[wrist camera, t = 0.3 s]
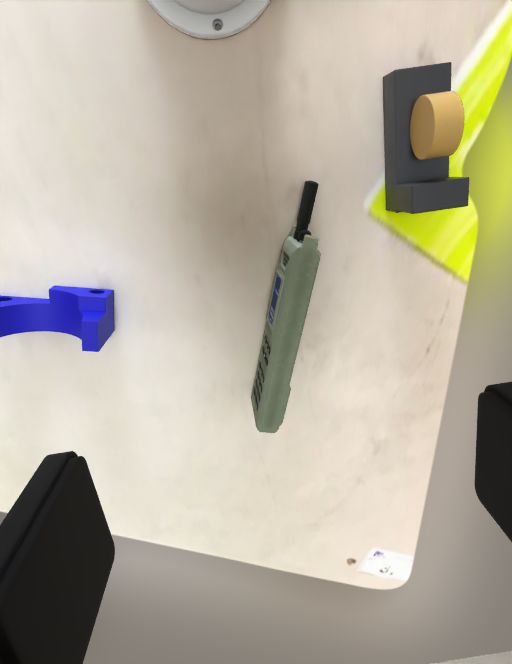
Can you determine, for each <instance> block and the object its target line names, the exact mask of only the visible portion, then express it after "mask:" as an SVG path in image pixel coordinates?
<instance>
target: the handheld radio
mask: <svg viewBox="0 0 512 664" xmlns="http://www.w3.org/2000/svg"><path fill="white" fill-rule="evenodd" d="M317 189H318V184H317V183H316V182H314V181H306V182H305V186H304V191H303V195H302V200H301V205H300V209H299V214H298V218H297V227H292V230H291V233H290V236H289V237H287V238H286V239H285V241H284V244H283V248H282V252H281V257H280V261H279V266H278V269H276V274H275V279H274V283H273V288H272V293H271V298H270V302H269V307H268V312H267V316H266V319H267V322H266V327H265V332H264V337H263V342H262V347H261V352H260V357H259V362H258V367H257V371H256V376H255V381H254V386H253V391H252V396H251V399H252V405H253V411H254V417H255V422H256V427H257V429H258V430H259V432H267V433H275V432H276V431H277V430H278V429H279V426H280V425H281V424H282V422H283V419H284V414H285V410H286V406H287V402H288V398H289V394H290V390H291V388H290V385H289V384H290V380H291V376H292V372H293V368H294V364H295V359H296V355H297V351H298V347H299V343H300V339H301V335H302V331H303V326H304V322H305V318H306V314H307V310H308V306H309V302H310V297H311V293H312V289H313V285H314V281H315V277H316V273H317V269H318V264H319V260H320V255H321V254H320V251H319V250H317V246H318V238H314V236H312V235H311V233H310V231H308V230H307V229H308V225H309V224H310V219H311V215H312V210H313V206H314V202H315V197H316V193H317Z"/></svg>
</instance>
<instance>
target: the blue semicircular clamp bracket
mask: <svg viewBox="0 0 512 664" xmlns="http://www.w3.org/2000/svg"><path fill="white" fill-rule="evenodd" d="M33 331H53V332H62V333H67V334H71V335H74V336H76V337H78V338H80V339H81V340H82V351H94V352H99V351H100V349H101V348H102V347H103V345H104V344H105V342H106V341H107V340H108V338H109V337H110V336H111V334H112V333H113V332H114V290H104V289H90V288H77V287H63V286H54V287H52V288H50V289H49V299H38V298H23V297H9V296H0V337H3V336H6V335H11V334H16V333H22V332H33Z"/></svg>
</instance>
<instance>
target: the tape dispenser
mask: <svg viewBox="0 0 512 664" xmlns="http://www.w3.org/2000/svg"><path fill="white" fill-rule="evenodd" d="M383 98H384V139H385V181H386V210H388V211H392V212H396V213H398V212H407V213H411V214H415V213H422V212H429V211H436V210H443V209H450V208H457V207H464V206H468V194H469V177H449V156H450V155H452V154H453V153H454V152H455V151H456V150H457V148H458V146H459V144H460V141H461V138H462V134H463V128H464V109H463V104H462V101H461V99H460V97H459V95H458V94H457V93H456V92H454V91H451V62H449V63H441V64H434V65H427V66H420V67H413V68H406V69H399V70H394V71H393V72H391V73H389V74H388V75H386V76H385V77H383Z"/></svg>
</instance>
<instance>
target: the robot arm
mask: <svg viewBox="0 0 512 664" xmlns="http://www.w3.org/2000/svg"><path fill="white" fill-rule="evenodd" d="M147 1H148V2H149V3H150V5H151V6H152V7H153V8H154V10H155V11H156V12H157V14H158V15H160V16H161V17H162V18H163V19H164V20H165V21H166V22H167V23H168V24H169V25H171V26H173V27H174V28H176V29H177V30H179V31H181V32H182V33H185V34H188V35H191V36H193V37H197V38H204V39H218V38H225V37H228V36H231V35H234V34H237V33H238V32H240V31H242V30H244V29H245V28H247V27H249V26H250V25H251V24H252V23H253V22H254V21H255V20H256V19H257V18H259V16H260V15H261V14H262V12H263V11H264V10H265V8H266V7H267V6H268V4H269V2H270V0H147ZM216 25H220V26H221V29H220V30H216V29H215V26H216ZM475 490H476V493H477V496H478V498H479V500H480V501H481V503H482V504H483V505H484V507H485V508H486V509H487V511H488V512H489V513H490V514H491V516H492V517H493V518H494V520H495V521H496V522H497V524H498V525H499V526H500V527H501V529H502V530H503V531H504V533H505V534H506V535H507V536H508V538H509V539H510V540H511V542H512V382H507V383H501V384H494V385H488V386H487V387H486V389H485V391H484V393H481V394H480V395H479V398H478V417H477V440H476V465H475ZM114 554H115V547H114V542H113V539H112V536H111V533H110V530H109V527H108V524H107V521H106V518H105V515H104V512H103V510H102V507H101V504H100V501H99V498H98V495H97V492H96V489H95V486H94V483H93V480H92V477H91V474H90V471H89V468H88V465H87V463H86V460H85V458H84V457H82V456H79V457H78V456H77V454H76V453H75V452H73V451H70V452H64V453H58V454H51V455H48V456H46V457H45V458H44V460H43V461H42V463H41V464H40V466H39V467H38V469H37V470H36V472H35V473H34V475H33V476H32V478H31V479H30V481H29V482H28V484H27V485H26V487H25V488H24V490H23V492H22V493H21V495H20V496H19V498H18V499H17V501H16V502H15V504H14V505H13V507H12V508H11V510H10V511H9V513H8V514H7V516H6V518H5V519H4V520H3V522H2V524H1V525H0V664H83V661H84V657H85V654H86V651H87V647H88V644H89V641H90V637H91V634H92V630H93V627H94V624H95V621H96V617H97V614H98V611H99V607H100V604H101V601H102V597H103V594H104V591H105V588H106V584H107V581H108V578H109V574H110V571H111V568H112V564H113V561H114ZM431 664H512V651H509V652H502V653H496V654H489V655H483V656H476V657H470V658H464V659H457V660H451V661H445V662H438V663H431Z"/></svg>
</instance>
